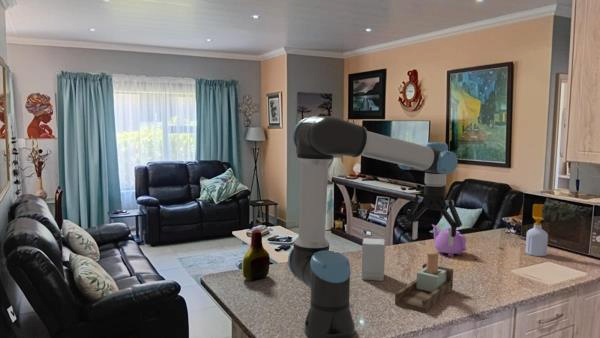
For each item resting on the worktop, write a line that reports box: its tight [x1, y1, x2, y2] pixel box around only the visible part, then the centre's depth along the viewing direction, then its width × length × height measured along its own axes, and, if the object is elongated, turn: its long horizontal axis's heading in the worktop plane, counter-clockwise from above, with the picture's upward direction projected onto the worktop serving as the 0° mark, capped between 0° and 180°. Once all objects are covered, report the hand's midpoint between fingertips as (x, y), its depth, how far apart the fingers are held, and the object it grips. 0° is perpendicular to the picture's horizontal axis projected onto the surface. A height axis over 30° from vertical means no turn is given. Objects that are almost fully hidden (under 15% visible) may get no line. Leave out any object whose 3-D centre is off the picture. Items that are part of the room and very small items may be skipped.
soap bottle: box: [525, 203, 549, 257], centre depth 217 cm, size 9×9×25 cm
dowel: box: [426, 251, 439, 275], centre depth 168 cm, size 4×4×11 cm
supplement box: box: [361, 237, 386, 282], centre depth 184 cm, size 9×9×15 cm
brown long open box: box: [394, 263, 454, 313], centre depth 163 cm, size 26×11×8 cm, turn 142°
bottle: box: [241, 228, 271, 281], centre depth 181 cm, size 12×6×20 cm, turn 120°
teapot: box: [431, 224, 467, 258], centre depth 218 cm, size 20×14×12 cm
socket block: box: [416, 267, 447, 292], centre depth 168 cm, size 9×8×6 cm
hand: (432, 242), depth 166 cm, fingers open, 13 cm apart
